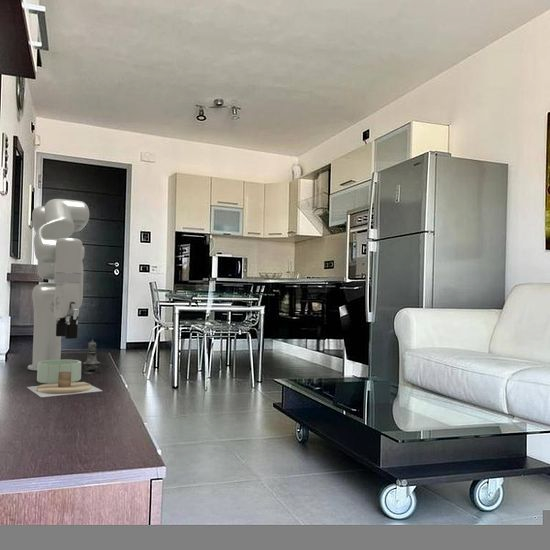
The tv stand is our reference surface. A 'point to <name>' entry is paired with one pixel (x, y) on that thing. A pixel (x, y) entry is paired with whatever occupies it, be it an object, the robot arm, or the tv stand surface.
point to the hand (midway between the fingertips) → (66, 337)
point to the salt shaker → (91, 359)
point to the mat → (34, 389)
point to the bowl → (58, 370)
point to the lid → (63, 385)
